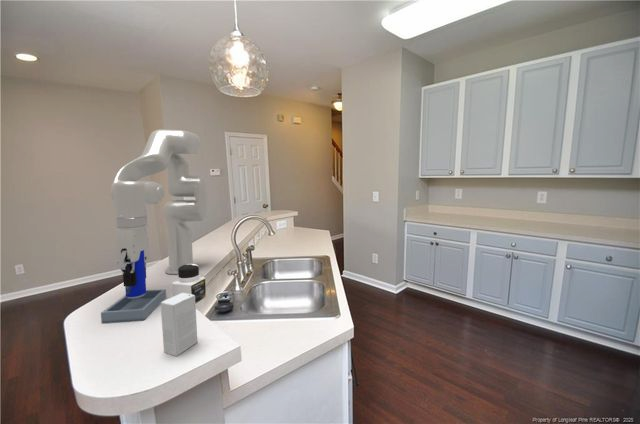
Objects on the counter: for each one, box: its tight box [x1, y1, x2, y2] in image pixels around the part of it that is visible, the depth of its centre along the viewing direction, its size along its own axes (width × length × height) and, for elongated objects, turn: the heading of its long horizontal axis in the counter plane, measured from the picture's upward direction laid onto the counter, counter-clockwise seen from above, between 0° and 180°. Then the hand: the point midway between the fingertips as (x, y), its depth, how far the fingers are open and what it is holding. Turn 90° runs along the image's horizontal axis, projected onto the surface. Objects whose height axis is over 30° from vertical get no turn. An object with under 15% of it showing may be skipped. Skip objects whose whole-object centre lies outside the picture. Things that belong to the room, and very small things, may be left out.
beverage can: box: [124, 249, 147, 299], centre depth 81 cm, size 5×5×15 cm
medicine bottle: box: [171, 263, 207, 305], centre depth 87 cm, size 7×7×12 cm
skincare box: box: [160, 293, 198, 357], centre depth 62 cm, size 6×4×12 cm
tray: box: [100, 288, 167, 324], centre depth 82 cm, size 16×11×3 cm
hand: (135, 281), depth 81 cm, fingers closed on beverage can, 5 cm apart
